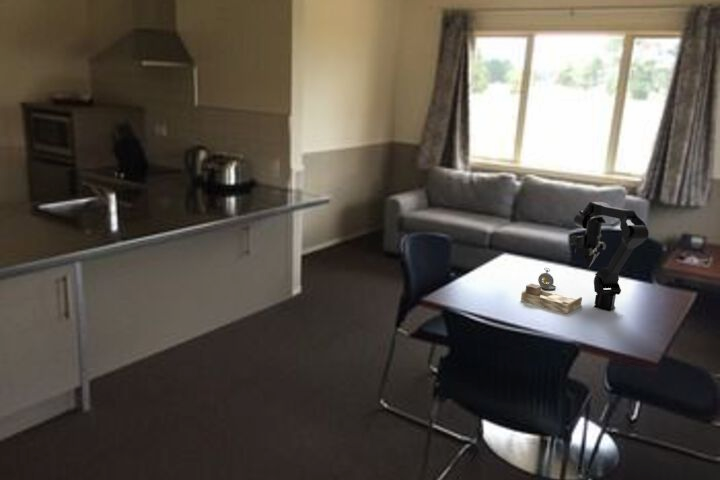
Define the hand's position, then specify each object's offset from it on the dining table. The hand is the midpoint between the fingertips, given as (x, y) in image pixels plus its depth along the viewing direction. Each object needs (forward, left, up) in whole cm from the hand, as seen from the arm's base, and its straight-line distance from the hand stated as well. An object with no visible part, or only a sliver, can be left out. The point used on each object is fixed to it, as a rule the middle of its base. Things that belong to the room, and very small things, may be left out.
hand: (587, 267), depth 256 cm
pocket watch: (+15, +4, -13) cm, 20 cm away
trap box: (+5, +20, -12) cm, 25 cm away
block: (+12, +24, -10) cm, 29 cm away
